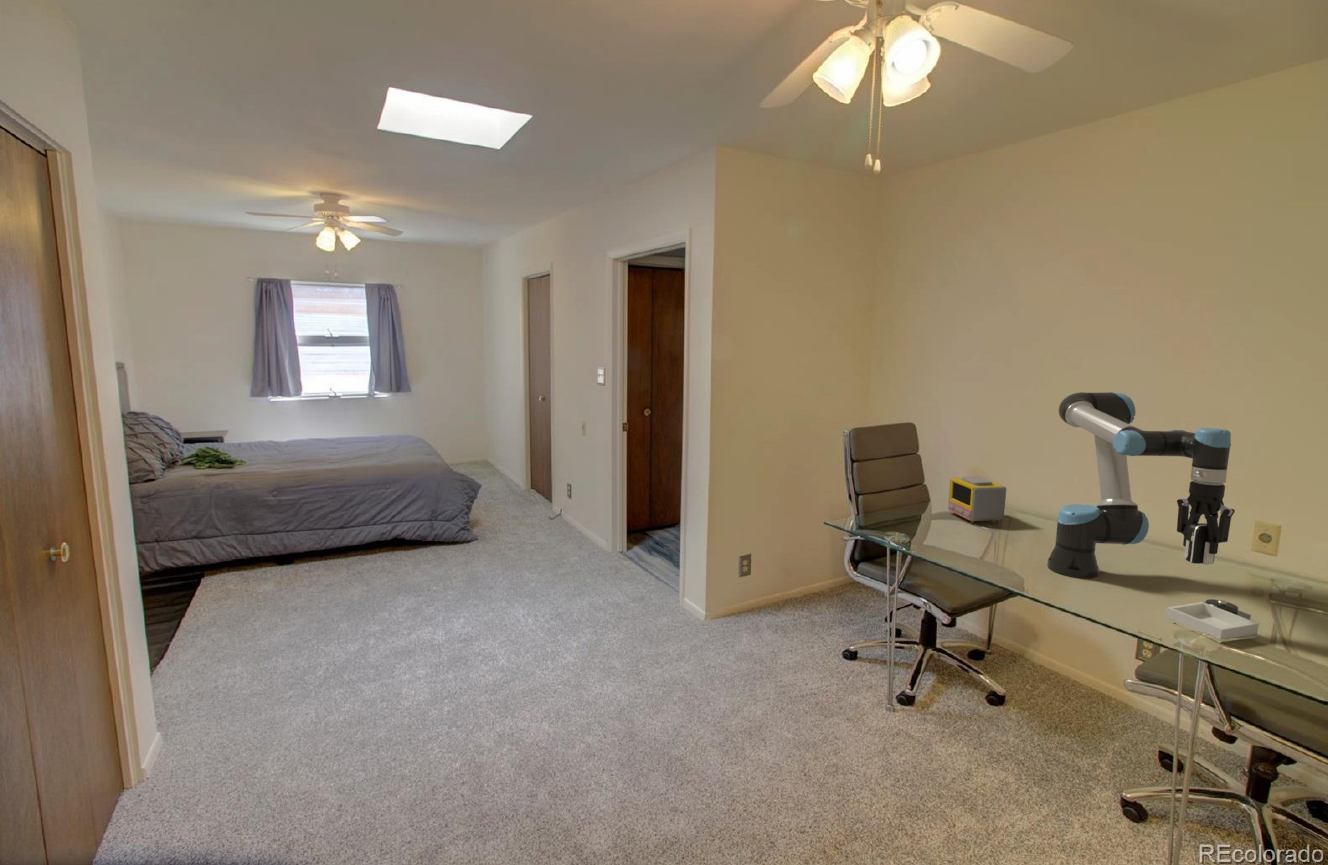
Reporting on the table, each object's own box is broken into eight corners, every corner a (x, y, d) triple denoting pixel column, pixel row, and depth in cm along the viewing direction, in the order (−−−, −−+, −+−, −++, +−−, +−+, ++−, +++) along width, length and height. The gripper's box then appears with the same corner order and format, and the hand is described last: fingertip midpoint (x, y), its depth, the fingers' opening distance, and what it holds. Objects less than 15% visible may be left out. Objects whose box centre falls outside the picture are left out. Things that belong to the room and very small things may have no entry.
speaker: (1191, 609, 182) (1193, 595, 181) (1211, 606, 184) (1213, 592, 183) (1229, 624, 172) (1232, 610, 171) (1249, 621, 174) (1252, 606, 173)
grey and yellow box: (945, 512, 282) (948, 474, 279) (976, 511, 284) (980, 473, 281) (971, 525, 263) (974, 485, 260) (1004, 524, 264) (1008, 483, 261)
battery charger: (1201, 559, 176) (1207, 521, 174) (1214, 563, 172) (1220, 525, 170) (1180, 559, 175) (1185, 522, 173) (1193, 564, 171) (1198, 526, 170)
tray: (1165, 620, 175) (1166, 607, 174) (1200, 614, 178) (1202, 601, 178) (1219, 643, 162) (1221, 629, 161) (1256, 636, 165) (1258, 623, 164)
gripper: (1165, 477, 178) (1157, 552, 181) (1233, 489, 161) (1223, 572, 164) (1184, 475, 180) (1176, 550, 183) (1253, 487, 163) (1242, 570, 166)
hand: (1198, 560), depth 173 cm, fingers closed on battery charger, 4 cm apart
